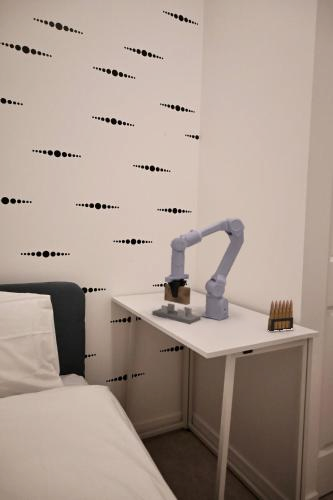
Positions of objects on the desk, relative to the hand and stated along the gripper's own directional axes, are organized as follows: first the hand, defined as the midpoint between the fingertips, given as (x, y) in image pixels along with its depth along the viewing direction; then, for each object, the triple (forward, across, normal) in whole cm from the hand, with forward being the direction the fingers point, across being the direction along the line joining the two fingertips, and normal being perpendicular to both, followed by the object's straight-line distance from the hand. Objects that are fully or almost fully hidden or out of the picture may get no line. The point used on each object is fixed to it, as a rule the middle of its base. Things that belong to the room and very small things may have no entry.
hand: (176, 296), depth 137 cm
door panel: (+2, 0, 0) cm, 2 cm away
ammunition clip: (+9, -14, +40) cm, 44 cm away
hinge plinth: (+9, +1, +1) cm, 9 cm away
